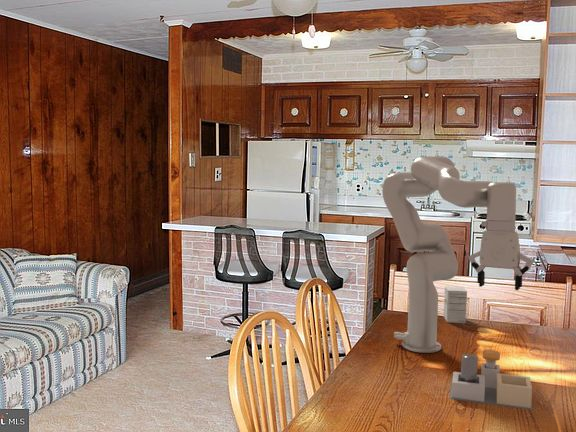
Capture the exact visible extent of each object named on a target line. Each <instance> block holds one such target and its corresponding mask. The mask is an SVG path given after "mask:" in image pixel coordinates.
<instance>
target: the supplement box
mask: <svg viewBox="0 0 576 432" xmlns="http://www.w3.org/2000/svg"><path fill="white" fill-rule="evenodd" d="M467 298H468V290H467V289H466V288H465V287H463V286H444V298H443V299H444V303H443V319H445V322H446V323H454V324H467V322H466V320H467V303H468V302H467V300H468V299H467Z"/></svg>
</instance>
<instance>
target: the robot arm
mask: <svg viewBox="0 0 576 432" xmlns="http://www.w3.org/2000/svg"><path fill="white" fill-rule="evenodd" d="M460 178H461V177H460V172H459V170H458V169H457V168H456V167H455V165H454V162H453V161H452V160H451V159H450V158H449V157H446V156H430V155H429V156H427V155H426V156H420V157H418V158H416V159H415V160H414V161H413V162H412V163H411V165H410V172H409V171H407V172H406V171H405V172H394V173H391V174H389V175H388V176H386V178H385V179H384V181H383V183H382V191H381V192H382V198H383V202H384V204H385V206H386V208H387V210H388V212H389V214H390V216H391V218H392V220H393V222H394V225H395V228H396V231H397V234H398V236H399V240H400V242H401V244H402V247H403V248H404V249H405V250H406V251H407V252H410V253H415V252H416V253H415V254H413V255H411V256H410V257H409V258H408V260H407V261H406V262H407V263H406V275H407V283H408V305H407V307H408V308H407V310H408V311H407V330H406V331H404V332H400V331H393V338H395V339H396V340H399V341H401V340H402V343H401V345H402V347H403V349H405V350H407V351H411V352H414V353H421V354H422V353H423V354H431V353H437V352H439V351H440V350H442V344H441V343H440V342H438V341H437V339H438V338H437V337H438V336H437V335H438V316H439V314H438V313H439V311H438V310H439V292H438V290H437V288H436V287H435V283H434V282H438V281H447V280H451V279H453V278H455V277H456V276H457V274H458V270H459V263H458V259H457V256H456V253H455V251H454V249H453V248H454V247H453V246H452V244H451V241H450V239H449V236H448V233H447V231H446V230H445V228H444V227H443V226H442V225H441V224H438V223H436V222H423V221H422V220H421V218H420V215H419V212H418V210H417V208H416V207H415V206H414V205H413V204H412V203H411V202H410V201H409V200H408V199H407V198H422V197H423V198H424V197H428V196H430V195H432V194H433V193H435V192H436V191H438V194H439V195H440V197H441V198H442V199H443V200H444V201H445V202H448V203H449V204H452V205H455V206H457V207H460V208H463V209H467V208H468V209H469V208H471V209H472V208H486V220H485V221H481V224H480V226H481V227H484V228H485V230H483V232H482V236H481V242H480V251H477V252H475V253H472V254H470V255H468V257H467V258H468V260H469V262H470V265H471V266H472V268H473V269H474V270H475V271H476V273H477V277H476V278H477V279H476V280H477V284H478V287H483V286H485V279H486V278H485V277H486V275H485V274H486V273H485V271H484V269H486V268H494V269H495V268H496V269H509V270H511V269H512V270H513V271H514V272H515V273H516V275H515V276H514V290H515V291H519V290H520V289H521V288H522V286H523V275H524V274H526V273H527V271H529V270H530V268H531V267H532V265H533V264H534V260H533V259H531V258H530V257H528V256H526V255H525V254H523V253H521V250H520V248H521V247H520V239H519V233H518V231H516V215H517V214H516V212H517V210H516V208H517V206H516V205H517V186H516V184H515V183H514V182H507V181H497V182H495V181H491V180H490V181H489V180H467V181H465V180H463V179H460ZM418 252H419V253H418ZM478 257H479V263H478V262H477V261H476V258H478ZM521 261H523V262H525V263H526V264H525V265H524V267H521V266H520V263H521Z"/></svg>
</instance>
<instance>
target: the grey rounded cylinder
mask: <svg viewBox="0 0 576 432" xmlns="http://www.w3.org/2000/svg"><path fill="white" fill-rule="evenodd" d="M460 361H461V364H460V373H461V382H469V383H477V375H478V363H479V362H478V361H479V357H478V356H477V355H476V354H471V353H463V354H461V360H460Z"/></svg>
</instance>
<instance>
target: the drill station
mask: <svg viewBox="0 0 576 432" xmlns="http://www.w3.org/2000/svg"><path fill="white" fill-rule="evenodd" d="M480 368H481V369H480V370H481V374H477V383H469V382H461V371H459V372H458V371H453V372H452V376H451V384H450V389H449V390H450V391H449V397H448V398H449V400H456V401H465V402H471V403H477V404H484V405H485V404H486V405H493V406H501V407H506V408H515V409H522V410H528V411H529V410H531V411H534V405H533V401H532V397H533V387H532V382H531V378H530V376H523V375H515V374H514V375H513V374H508V373H506V374H505V373H501V368H500V364H495V369H489V368H486V363H484V362H481V367H480Z"/></svg>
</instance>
